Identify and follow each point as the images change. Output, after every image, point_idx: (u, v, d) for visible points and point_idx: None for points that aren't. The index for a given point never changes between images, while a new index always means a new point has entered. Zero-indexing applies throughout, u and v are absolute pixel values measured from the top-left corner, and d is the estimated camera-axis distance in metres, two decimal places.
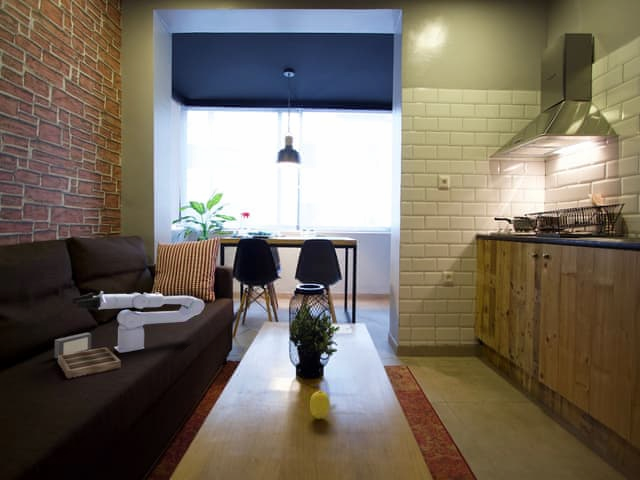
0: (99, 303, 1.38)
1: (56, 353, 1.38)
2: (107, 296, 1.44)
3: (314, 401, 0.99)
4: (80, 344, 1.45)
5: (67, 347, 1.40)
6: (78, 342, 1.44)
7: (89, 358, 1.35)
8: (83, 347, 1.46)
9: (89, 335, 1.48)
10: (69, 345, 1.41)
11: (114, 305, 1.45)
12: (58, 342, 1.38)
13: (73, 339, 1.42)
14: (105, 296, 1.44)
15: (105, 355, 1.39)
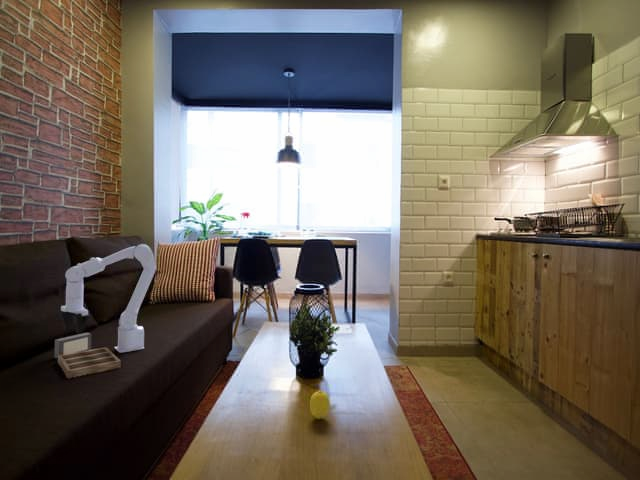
0: (82, 316, 1.40)
1: (56, 353, 1.38)
2: (71, 306, 1.40)
3: (314, 401, 0.99)
4: (80, 344, 1.45)
5: (67, 347, 1.40)
6: (79, 342, 1.44)
7: (89, 358, 1.35)
8: (83, 348, 1.46)
9: (89, 335, 1.48)
10: (69, 345, 1.41)
11: (81, 298, 1.43)
12: (58, 342, 1.38)
13: (73, 339, 1.42)
14: (70, 307, 1.40)
15: (105, 355, 1.39)
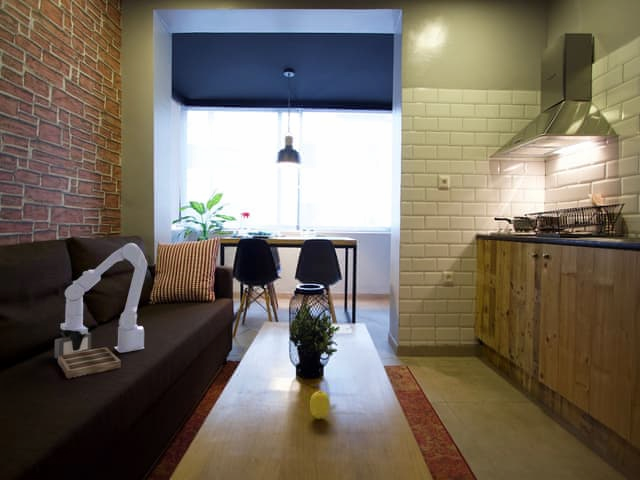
0: (79, 333, 1.41)
1: (56, 353, 1.38)
2: (70, 324, 1.41)
3: (314, 401, 0.99)
4: None
5: (67, 346, 1.40)
6: None
7: (89, 358, 1.35)
8: (83, 347, 1.46)
9: (89, 335, 1.48)
10: (69, 345, 1.41)
11: (81, 316, 1.43)
12: (58, 342, 1.38)
13: None
14: (70, 326, 1.41)
15: (105, 355, 1.39)
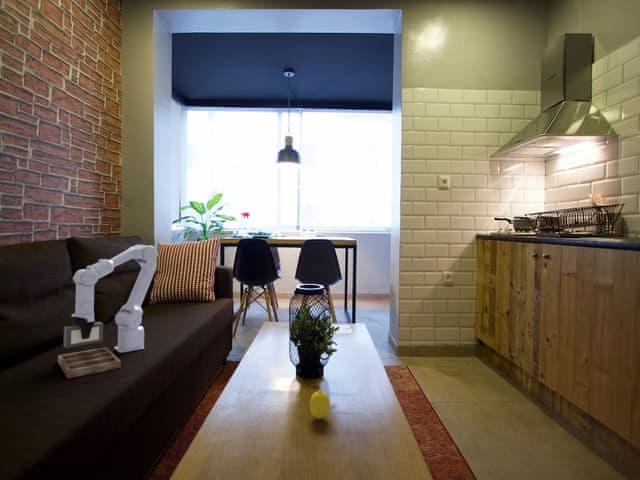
0: None
1: (64, 341, 1.32)
2: (79, 311, 1.33)
3: (314, 401, 0.99)
4: (90, 333, 1.37)
5: (75, 335, 1.33)
6: None
7: (89, 358, 1.35)
8: (94, 337, 1.38)
9: (101, 324, 1.40)
10: (77, 334, 1.34)
11: (90, 303, 1.36)
12: (66, 330, 1.31)
13: None
14: (78, 312, 1.34)
15: (105, 355, 1.39)
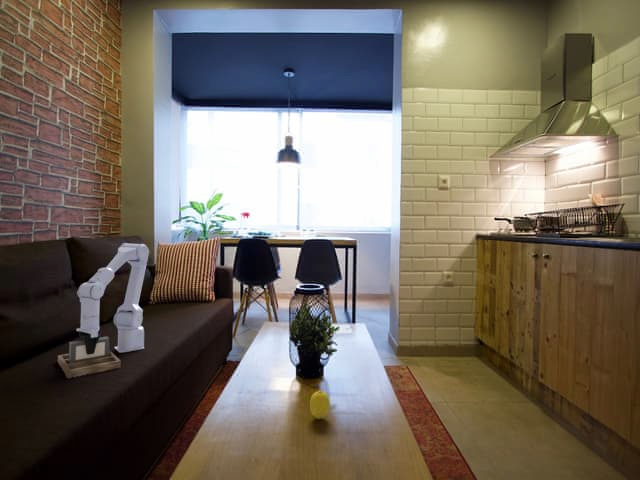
0: (91, 336, 1.29)
1: (69, 357, 1.29)
2: (83, 325, 1.30)
3: (314, 401, 0.99)
4: (96, 349, 1.33)
5: (80, 351, 1.30)
6: None
7: None
8: (99, 353, 1.34)
9: (107, 340, 1.36)
10: (82, 349, 1.30)
11: (95, 317, 1.32)
12: (70, 345, 1.28)
13: None
14: (83, 327, 1.30)
15: None
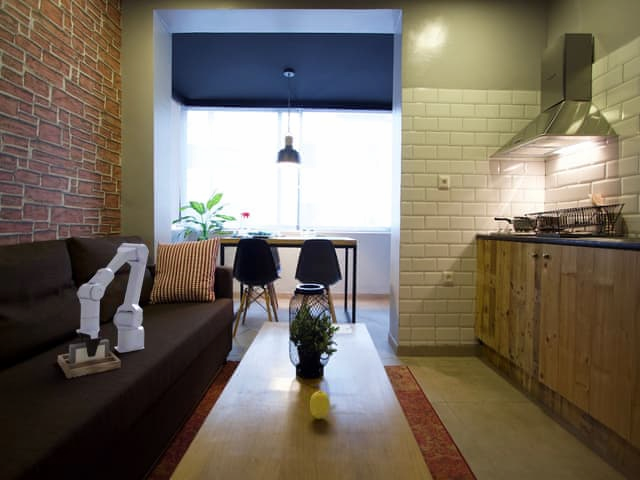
0: (92, 338, 1.28)
1: (69, 359, 1.29)
2: (83, 327, 1.30)
3: (314, 401, 0.99)
4: (96, 351, 1.33)
5: (80, 354, 1.30)
6: None
7: None
8: (99, 356, 1.34)
9: (107, 342, 1.36)
10: (82, 352, 1.30)
11: (95, 318, 1.32)
12: (70, 348, 1.28)
13: None
14: (83, 328, 1.30)
15: None
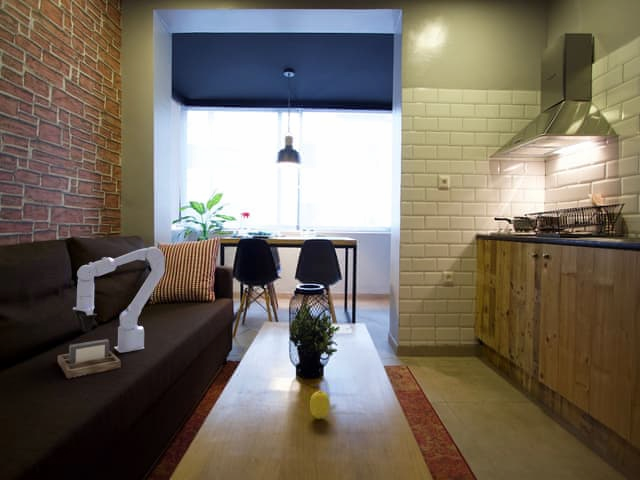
0: (88, 315, 1.39)
1: (69, 359, 1.29)
2: (79, 304, 1.41)
3: (314, 401, 0.99)
4: (96, 351, 1.33)
5: (80, 354, 1.30)
6: (94, 350, 1.33)
7: None
8: (99, 356, 1.34)
9: (107, 342, 1.36)
10: (82, 352, 1.30)
11: (90, 297, 1.43)
12: (70, 348, 1.28)
13: (87, 346, 1.31)
14: (79, 306, 1.41)
15: None
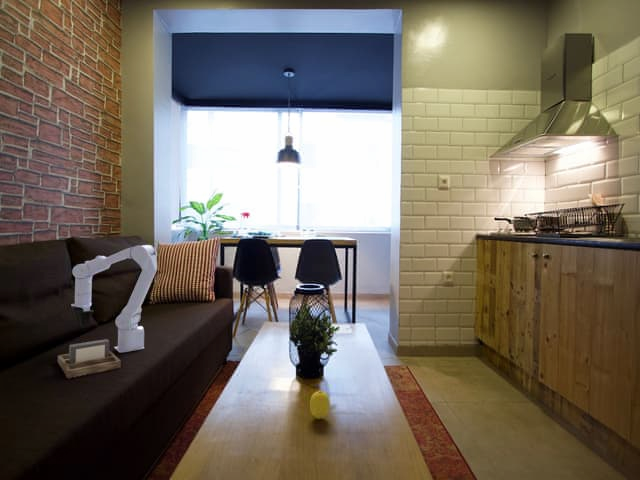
0: (85, 311, 1.46)
1: (69, 359, 1.29)
2: (77, 301, 1.48)
3: (314, 401, 0.99)
4: (96, 351, 1.33)
5: (80, 354, 1.30)
6: (94, 350, 1.33)
7: None
8: (99, 356, 1.34)
9: (107, 342, 1.36)
10: (82, 352, 1.30)
11: (88, 294, 1.49)
12: (70, 348, 1.28)
13: (87, 346, 1.31)
14: (77, 302, 1.48)
15: None
